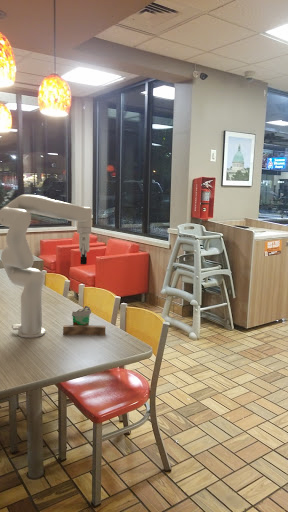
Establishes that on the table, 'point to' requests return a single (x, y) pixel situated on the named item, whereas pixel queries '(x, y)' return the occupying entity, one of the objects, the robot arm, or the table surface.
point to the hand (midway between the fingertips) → (83, 264)
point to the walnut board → (83, 330)
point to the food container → (81, 316)
